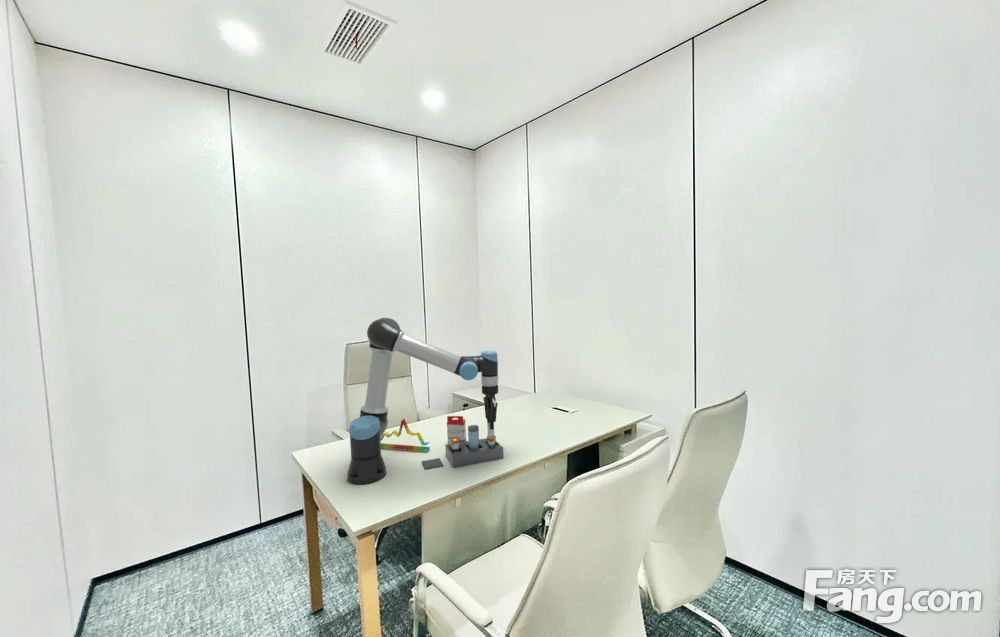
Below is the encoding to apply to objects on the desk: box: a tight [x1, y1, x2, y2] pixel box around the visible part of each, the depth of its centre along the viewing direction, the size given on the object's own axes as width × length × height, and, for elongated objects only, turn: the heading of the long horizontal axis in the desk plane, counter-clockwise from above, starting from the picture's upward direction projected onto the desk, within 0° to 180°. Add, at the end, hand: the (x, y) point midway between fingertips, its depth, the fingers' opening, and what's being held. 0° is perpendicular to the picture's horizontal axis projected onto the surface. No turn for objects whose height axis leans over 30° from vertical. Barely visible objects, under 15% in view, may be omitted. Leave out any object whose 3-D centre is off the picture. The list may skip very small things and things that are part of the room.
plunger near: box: [450, 437, 460, 453], centre depth 174 cm, size 4×4×8 cm
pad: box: [421, 457, 444, 470], centre depth 170 cm, size 8×8×1 cm
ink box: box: [446, 415, 467, 445], centre depth 193 cm, size 8×5×15 cm, turn 84°
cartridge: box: [467, 424, 480, 450], centre depth 176 cm, size 5×5×14 cm
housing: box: [444, 437, 504, 468], centre depth 177 cm, size 23×14×5 cm, turn 111°
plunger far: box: [486, 434, 497, 446], centre depth 180 cm, size 4×4×8 cm
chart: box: [380, 418, 431, 454], centre depth 188 cm, size 30×3×15 cm, turn 76°
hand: (490, 435), depth 179 cm, fingers closed
